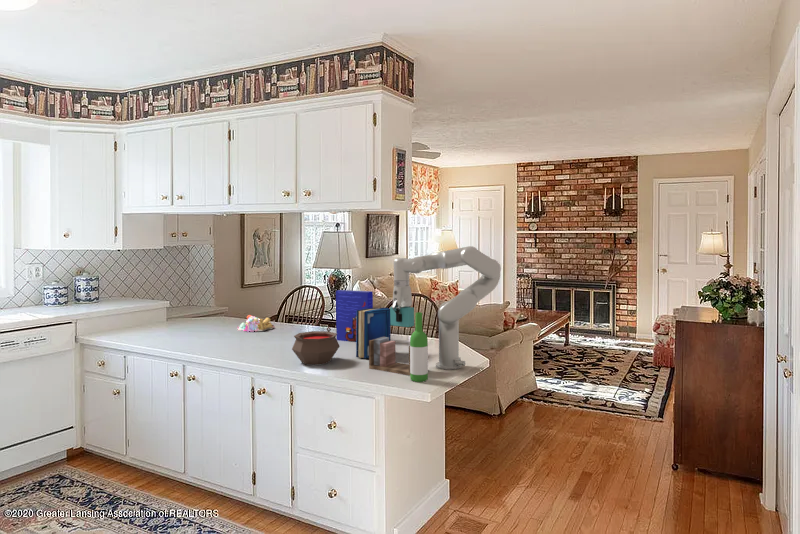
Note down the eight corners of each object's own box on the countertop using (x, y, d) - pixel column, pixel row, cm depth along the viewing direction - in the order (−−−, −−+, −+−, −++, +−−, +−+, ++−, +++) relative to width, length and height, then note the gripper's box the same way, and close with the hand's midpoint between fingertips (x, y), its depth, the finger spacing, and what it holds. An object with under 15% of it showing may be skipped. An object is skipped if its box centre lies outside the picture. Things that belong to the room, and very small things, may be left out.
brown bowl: (312, 354, 301) (312, 324, 300) (349, 359, 289) (349, 327, 288) (281, 363, 281) (281, 331, 279) (320, 369, 268) (319, 335, 267)
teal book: (414, 325, 273) (413, 307, 272) (408, 327, 269) (408, 308, 269) (396, 323, 280) (395, 305, 279) (390, 325, 276) (390, 306, 275)
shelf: (425, 370, 266) (424, 341, 265) (411, 375, 257) (410, 345, 256) (384, 363, 280) (383, 335, 279) (369, 368, 270) (368, 339, 269)
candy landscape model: (279, 327, 387) (279, 313, 387) (264, 333, 364) (263, 319, 364) (246, 325, 393) (246, 312, 392) (229, 332, 370) (228, 318, 369)
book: (382, 350, 309) (382, 305, 307) (392, 352, 304) (392, 306, 303) (355, 357, 292) (354, 310, 290) (365, 359, 288) (364, 311, 286)
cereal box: (373, 341, 335) (372, 291, 332) (368, 343, 329) (367, 292, 327) (341, 338, 344) (341, 289, 342) (336, 340, 339) (335, 290, 337)
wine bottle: (429, 378, 252) (429, 311, 250) (426, 383, 244) (426, 314, 242) (412, 377, 253) (411, 311, 251) (408, 382, 246) (408, 313, 244)
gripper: (397, 285, 264) (397, 324, 265) (418, 282, 277) (418, 319, 279) (384, 284, 269) (385, 322, 270) (405, 281, 282) (406, 318, 283)
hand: (402, 320), depth 274 cm, fingers closed on teal book, 4 cm apart
